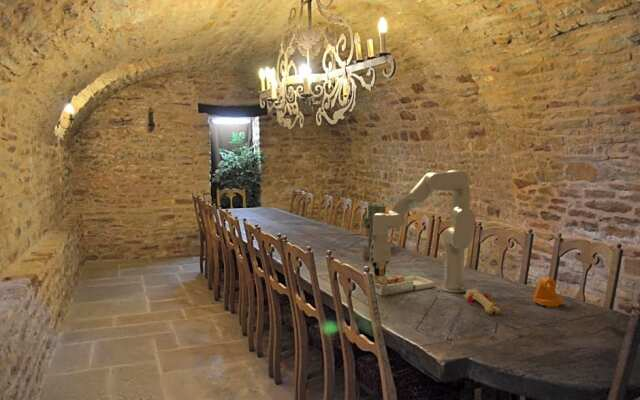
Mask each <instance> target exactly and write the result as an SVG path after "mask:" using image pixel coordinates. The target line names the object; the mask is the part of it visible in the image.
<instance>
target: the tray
mask: <svg viewBox="0 0 640 400" xmlns="http://www.w3.org/2000/svg"><path fill="white" fill-rule="evenodd" d="M404 277H405V280H404V281H414V283H413V290H412V291H419V290H423V289H424V290H425V289H429V288H435V286H436V285H435V283H436V281H434V280H430V279H427V278H424V277H421V276H418V275H409V276H404Z"/></svg>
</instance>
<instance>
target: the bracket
mask: <svg viewBox="0 0 640 400" xmlns="http://www.w3.org/2000/svg"><path fill="white" fill-rule="evenodd" d="M537 283H538V284H537V286H536V288H535V291H534V294H533V295H532V301H533V302H535V303H537V304H538V305H540V306H545V307H546V308H552V307H553V308H554V307H559V305H564V299H562V298H561V297H558V295H557V292H556V286H557V282H556V280H554V279H553V278H551V277H548V276H546V275H545V276H542V277H541V278H540V279H539V281H538V282H537Z"/></svg>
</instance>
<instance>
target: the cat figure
mask: <svg viewBox="0 0 640 400" xmlns="http://www.w3.org/2000/svg"><path fill="white" fill-rule="evenodd" d="M482 293H483V294H482ZM482 293H480V292H479V290H478V289H475V288H473V289H467V290H466V291H465V293H464V294H463V296H462V297H463V298H465V299H466V300H467V301H468V302H469V304H470V305H473V302H472V301H476V302H478V303H480V304H481V306H482V307H484V311H485V312H486V314H487V315H488V314H489V315H488V316H491V315H493V313H494V314H496V315H499V314H501V310H500V308H498V307H497V306H495V305H496V298H495V296H493V295H492V296H491V297H490V298H489V295H488V294H487V293H485V292H482ZM490 299H491V301H490ZM490 314H491V315H490Z"/></svg>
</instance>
